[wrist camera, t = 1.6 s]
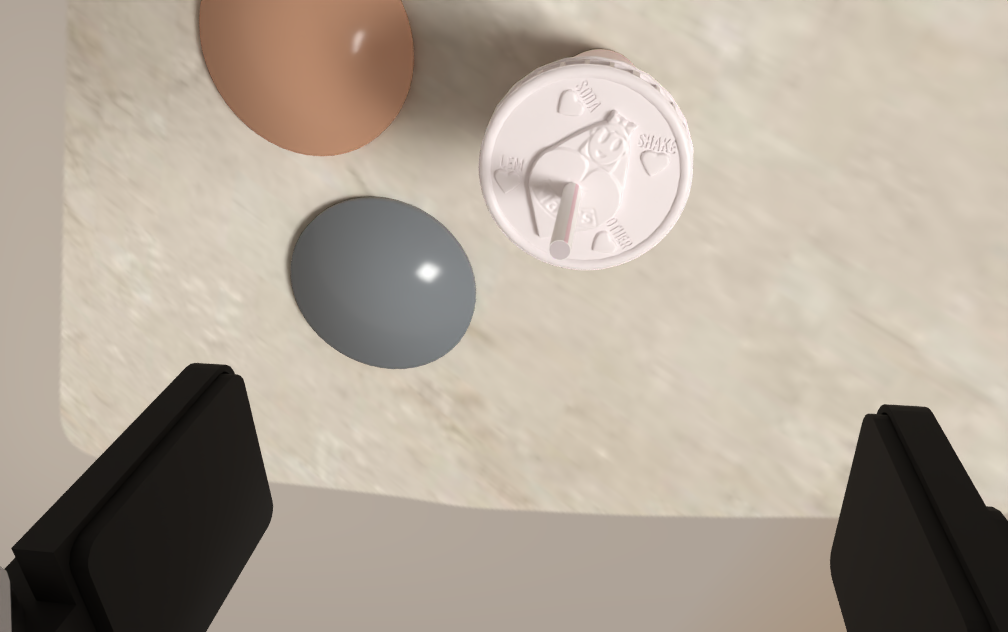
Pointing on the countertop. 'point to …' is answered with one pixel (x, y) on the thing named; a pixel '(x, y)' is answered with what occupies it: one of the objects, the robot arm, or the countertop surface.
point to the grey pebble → (383, 282)
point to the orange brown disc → (310, 68)
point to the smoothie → (586, 162)
